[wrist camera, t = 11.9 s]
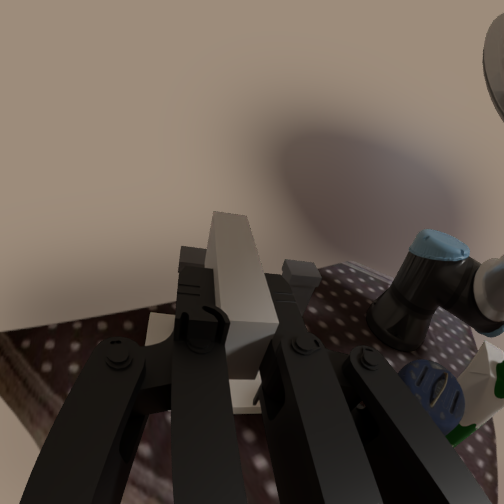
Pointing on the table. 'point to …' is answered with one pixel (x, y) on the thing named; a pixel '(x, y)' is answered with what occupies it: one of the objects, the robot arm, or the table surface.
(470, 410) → the milk carton
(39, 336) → the table surface
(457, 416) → the canister
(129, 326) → the table surface
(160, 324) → the switch board
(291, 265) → the switch
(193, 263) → the switch
